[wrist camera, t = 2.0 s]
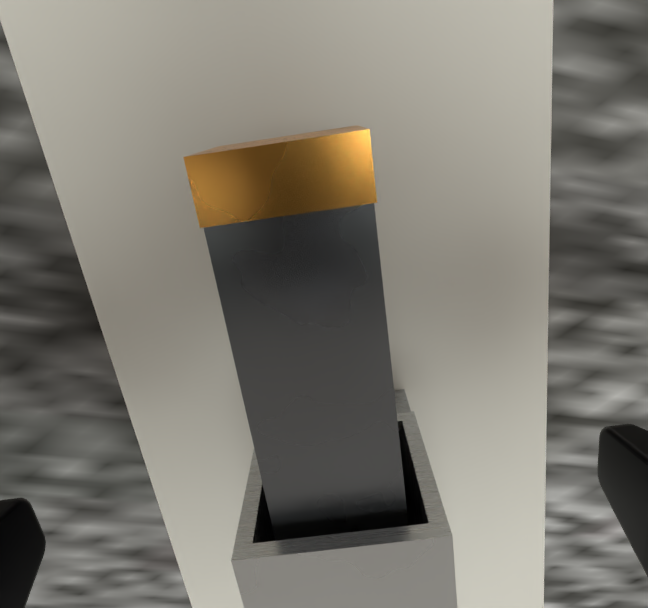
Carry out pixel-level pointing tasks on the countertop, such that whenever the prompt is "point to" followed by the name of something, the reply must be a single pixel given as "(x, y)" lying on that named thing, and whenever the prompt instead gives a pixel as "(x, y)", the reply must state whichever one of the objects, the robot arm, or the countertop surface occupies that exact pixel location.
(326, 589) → the outer sleeve
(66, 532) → the countertop surface
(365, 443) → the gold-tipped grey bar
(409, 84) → the base board
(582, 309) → the countertop surface
